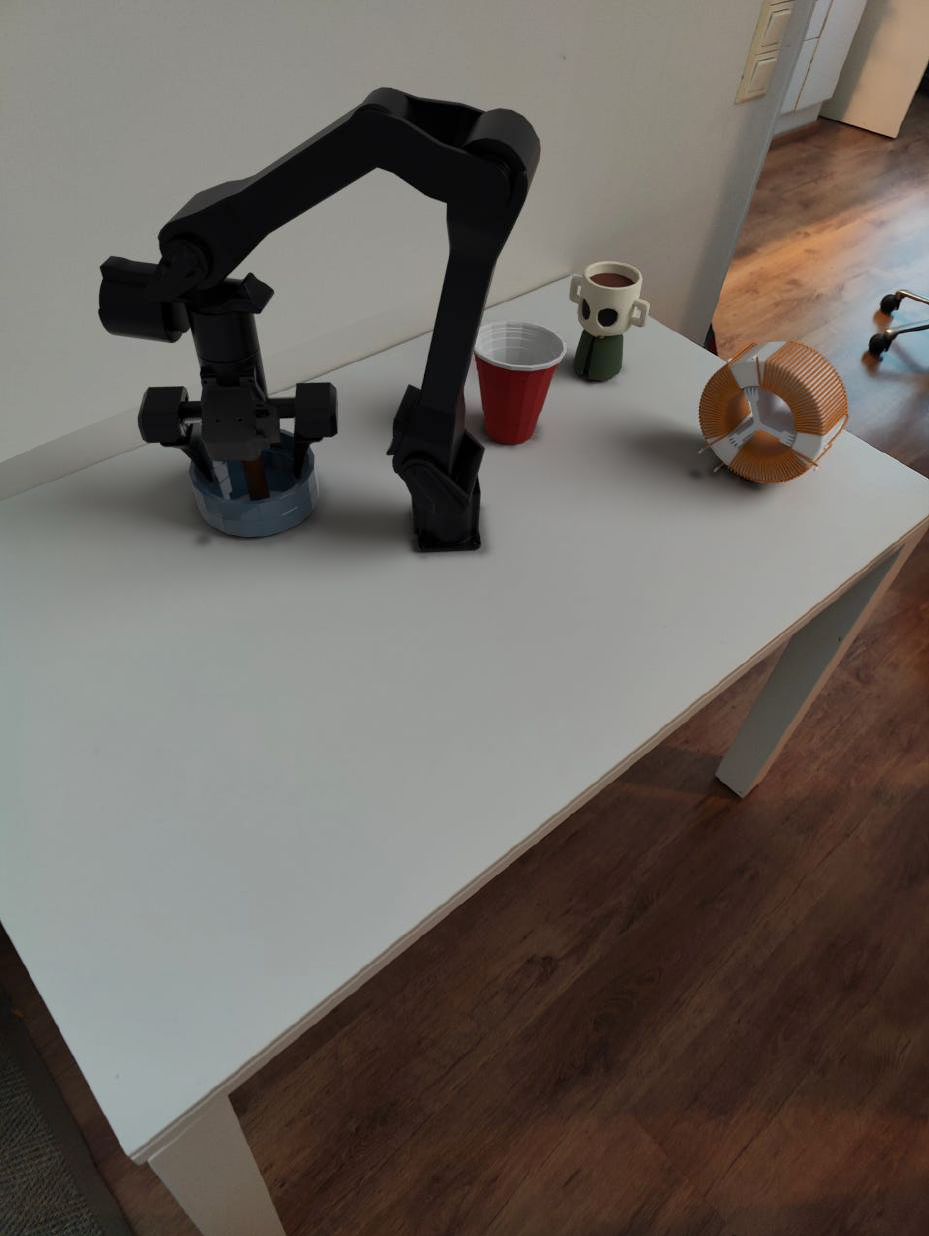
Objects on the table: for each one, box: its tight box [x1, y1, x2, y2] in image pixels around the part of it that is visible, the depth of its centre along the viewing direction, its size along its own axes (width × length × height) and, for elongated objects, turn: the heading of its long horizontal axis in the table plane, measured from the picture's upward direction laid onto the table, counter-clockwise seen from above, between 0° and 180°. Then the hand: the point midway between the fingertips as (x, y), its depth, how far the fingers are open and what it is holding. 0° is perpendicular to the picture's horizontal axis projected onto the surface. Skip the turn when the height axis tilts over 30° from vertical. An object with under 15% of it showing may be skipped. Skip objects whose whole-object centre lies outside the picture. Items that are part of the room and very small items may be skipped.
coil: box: [698, 339, 850, 485], centre depth 90 cm, size 7×15×15 cm, turn 49°
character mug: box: [568, 260, 651, 381], centre depth 103 cm, size 11×7×13 cm, turn 53°
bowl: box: [188, 428, 320, 538], centre depth 87 cm, size 13×13×5 cm
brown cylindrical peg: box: [241, 452, 270, 501], centre depth 85 cm, size 2×2×9 cm
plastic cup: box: [473, 319, 568, 446], centre depth 94 cm, size 11×11×12 cm
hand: (255, 478), depth 87 cm, fingers open, 8 cm apart
